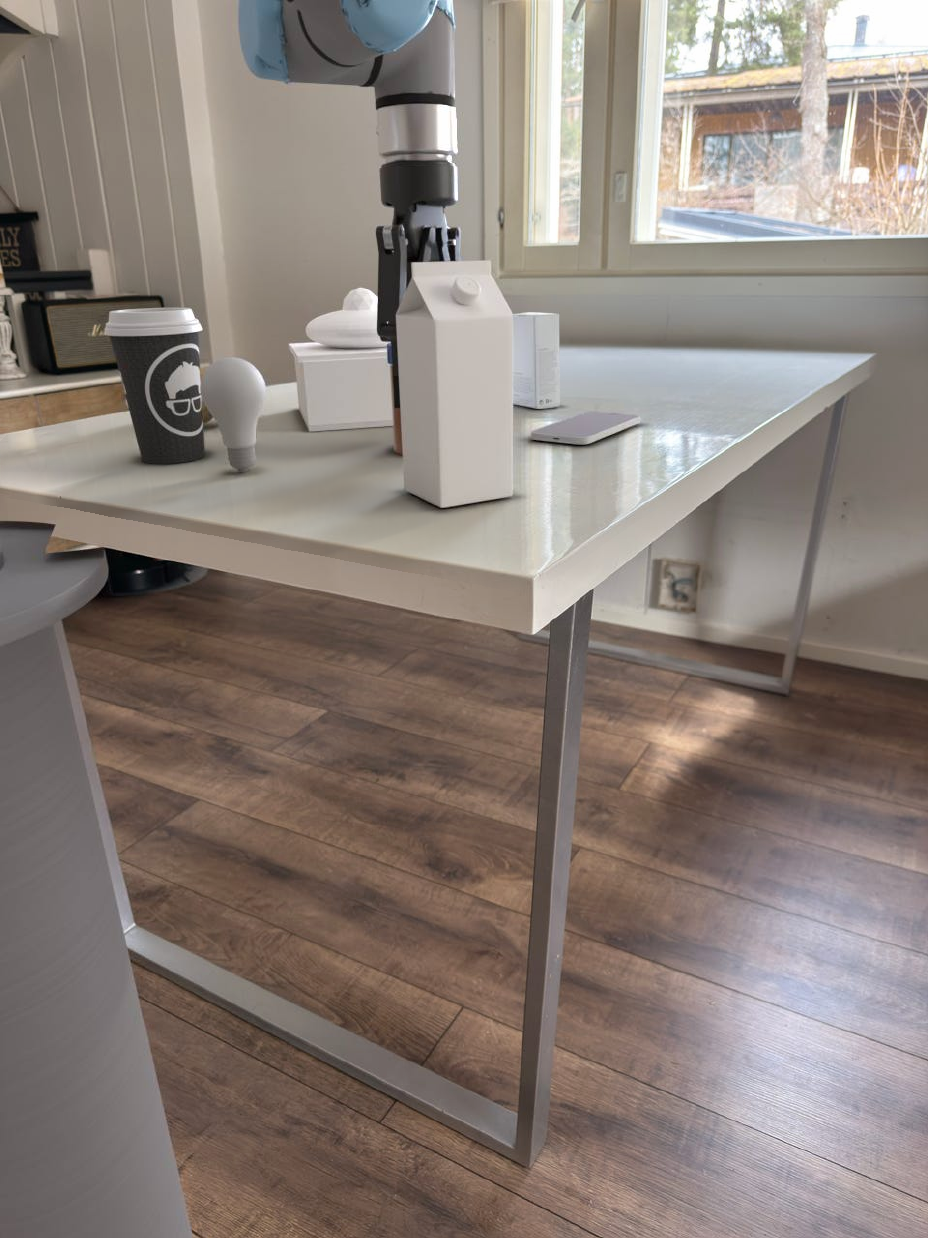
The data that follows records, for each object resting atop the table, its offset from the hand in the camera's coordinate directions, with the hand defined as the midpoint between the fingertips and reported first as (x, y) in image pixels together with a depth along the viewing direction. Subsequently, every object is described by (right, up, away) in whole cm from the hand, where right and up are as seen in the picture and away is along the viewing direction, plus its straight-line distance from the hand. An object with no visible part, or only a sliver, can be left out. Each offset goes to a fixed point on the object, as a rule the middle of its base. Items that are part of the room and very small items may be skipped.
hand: (427, 401), depth 92 cm
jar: (0, -5, +2) cm, 5 cm away
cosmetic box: (+14, +6, +27) cm, 31 cm away
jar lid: (0, +5, -2) cm, 6 cm away
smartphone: (+18, -1, +9) cm, 20 cm away
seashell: (-31, +2, +20) cm, 37 cm away
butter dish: (-9, +4, +23) cm, 25 cm away
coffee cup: (-27, -6, +1) cm, 28 cm away
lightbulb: (-18, -9, -6) cm, 21 cm away
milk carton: (+3, -13, -16) cm, 21 cm away
